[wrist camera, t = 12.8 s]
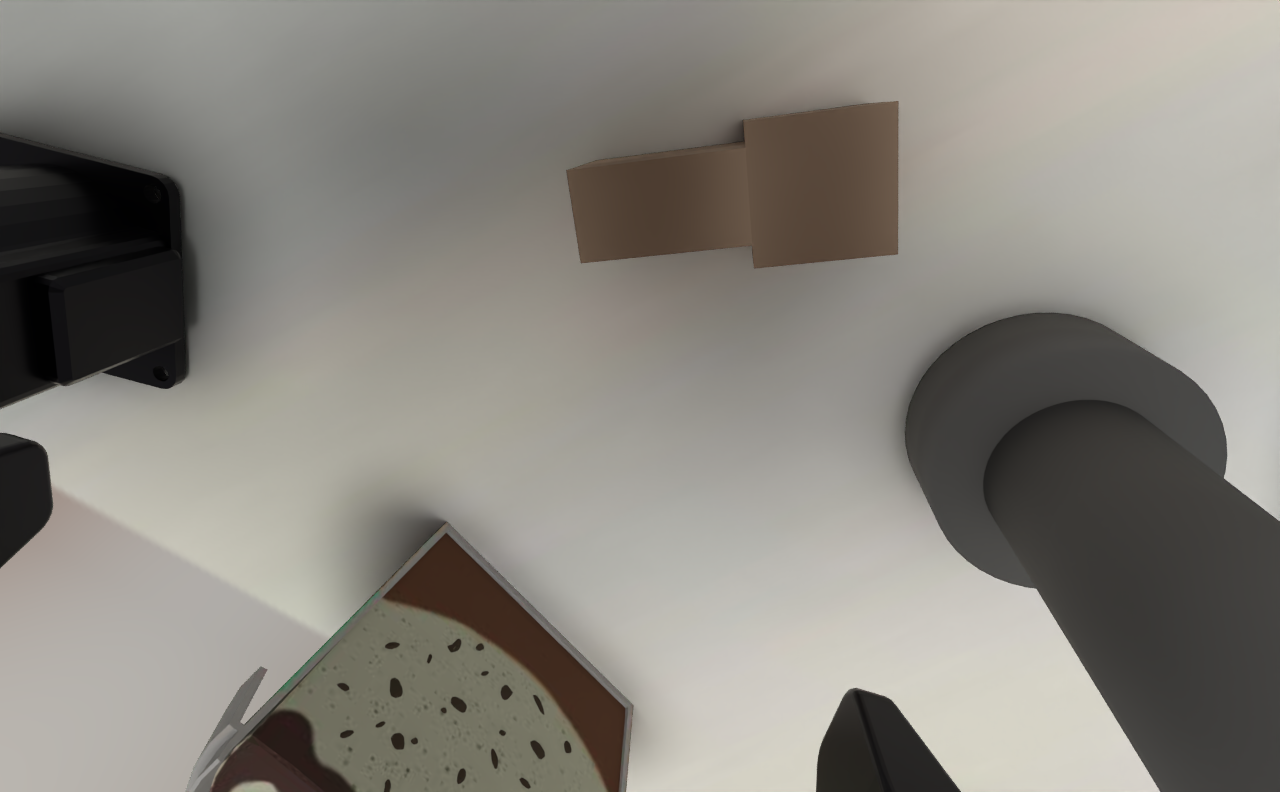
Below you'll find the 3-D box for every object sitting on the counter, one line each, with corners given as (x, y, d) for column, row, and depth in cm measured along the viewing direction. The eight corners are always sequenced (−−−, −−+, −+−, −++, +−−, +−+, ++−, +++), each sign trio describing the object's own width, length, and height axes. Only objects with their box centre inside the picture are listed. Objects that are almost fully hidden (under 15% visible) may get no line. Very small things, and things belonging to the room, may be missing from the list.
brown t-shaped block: (1519, 16, 15) (2083, -54, 9) (1478, 165, 16) (1955, 198, 10) (594, 140, 18) (517, 154, 12) (610, 256, 19) (547, 325, 13)
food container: (302, 582, 25) (47, 855, 16) (414, 489, 23) (195, 741, 14) (540, 798, 27) (439, 1144, 18) (660, 732, 25) (615, 1083, 16)
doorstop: (861, 396, 20) (1040, 830, 8) (1089, 264, 18) (1800, 583, 6) (973, 560, 21) (1269, 1138, 9) (1197, 456, 19) (1943, 1026, 7)
